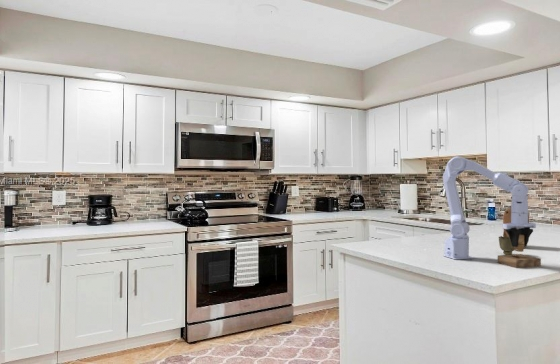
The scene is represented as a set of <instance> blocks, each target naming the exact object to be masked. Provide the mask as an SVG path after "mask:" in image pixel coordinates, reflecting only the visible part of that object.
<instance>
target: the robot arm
mask: <svg viewBox="0 0 560 364" xmlns="http://www.w3.org/2000/svg"><path fill="white" fill-rule="evenodd" d="M465 171H473V172H475V173H477V174H479V175H480V176H481V175H482V176H484V177H485V178H488V179H489V180H491V181H492V184H493V186H496V187H497V188H499V189H501V190H503V191H504V192H507V193H510V194H511V195H512V196H511V201H510V202H511V203H510V204H511V206H510V207H511V223H507V224H503V223H502V229H506V232H507V233H508V235H509V237H510V240H511V244H512V246H514V247H518V240H519V235H520V234H522V235H524V246H526V245H527V246H528V243H529V241H528V239H529V238H530V237H531V235H532V234H533V233H534V229H536V228H537V227H536V226H537V223H536V222H529V223H528V211H529V201H528V199H529V197H528V193H529V191H530V190H529V187H528V186H527V185H526V184H525V183H524V182H520V180H519V179H515V178H513V177H511V176H509V175H508V173H506V172H494V171H493V170H491V169H489V168H487V167H486V166H483V165H482V164H481V163H480V164H479V163H478V162H477V161H474V160H471V159H467V158H465V157H462V156H457V155H456V156H453V157H452V158H451V159H449V161H448V162H447V163H446V168H445V170H444V172H443V174H442V181H443V186H444V190H445V195H446V199H447V203H448V209H449V213H450V227H449V232H450V233H451V234H450V237H447V238H445V239H444V247H443V249H444V250H443V251H444V254H443V255H442V256H443V257H446V258H449V259H452V260H469V259H474V257H473V256H470V255H469V252H470V251H469V250H470V246H469V245H470V244H469V243H470V237H469V235H468V233H469V232H470V225H469V223H468V222H467V221H466V218H465V215H464V213H463V208H462V204H461V199H460V195H459V190H458V189H459V188H458V187H457V186H458V185H457V181H456V179H457V178H458V177H459V176H460V174H461V173H463V172H465ZM517 226H520V227H517ZM517 228H518V229H517ZM527 242H528V243H527ZM527 246H526V247H527Z"/></svg>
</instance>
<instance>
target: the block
mask: <svg viewBox="0 0 560 364" xmlns="http://www.w3.org/2000/svg"><path fill="white" fill-rule="evenodd" d="M507 223H511V206H509V207H507V208H506V209H505V210H504V212H503V216H502V225H503V224H507ZM528 223H530V212H529V210H528ZM517 227H520V226H517ZM502 229H503V228H502ZM517 229H518V228H517ZM504 236H505V238H506V237H507V236H508V237H509V235H508V233H507V232H506V229H503V233H502V237H504ZM528 243H529V239H528V242H527V245H526V246H524V249H525V248H526V247H527V246H528Z"/></svg>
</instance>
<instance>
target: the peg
mask: <svg viewBox="0 0 560 364" xmlns="http://www.w3.org/2000/svg"><path fill="white" fill-rule="evenodd" d="M514 249H515V250H514V252H518V253H519V252H522V253H523V252H524V250H525V248H524V235H522V234H520V235H519V240H518V247H514Z"/></svg>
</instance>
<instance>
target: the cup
mask: <svg viewBox="0 0 560 364" xmlns="http://www.w3.org/2000/svg"><path fill="white" fill-rule="evenodd" d="M498 242H499V243H498V244H499V248H500V249H501V250H502V251H503V252H502V253H503V255H513V252H515V249H514V246H512V244H511V240H510V237H508V236H507V237H506V238H505V236H504V237H503V235H500V236H498Z"/></svg>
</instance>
